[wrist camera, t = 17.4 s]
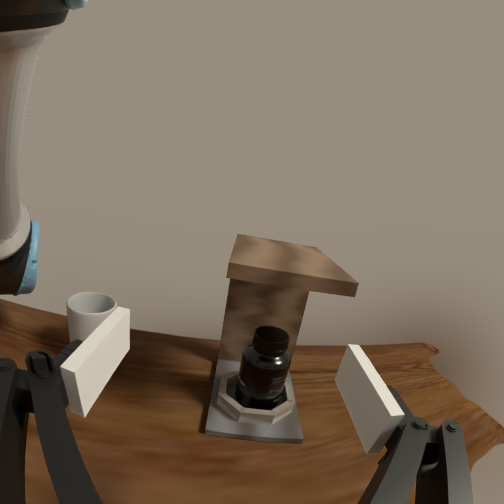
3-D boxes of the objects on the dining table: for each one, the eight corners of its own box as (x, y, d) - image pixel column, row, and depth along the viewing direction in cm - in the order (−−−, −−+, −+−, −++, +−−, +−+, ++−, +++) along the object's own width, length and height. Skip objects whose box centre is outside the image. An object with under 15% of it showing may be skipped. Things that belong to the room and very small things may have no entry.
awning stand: (204, 434, 31) (228, 262, 27) (218, 359, 50) (237, 233, 46) (301, 443, 32) (358, 283, 27) (286, 368, 51) (316, 247, 46)
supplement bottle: (224, 397, 38) (235, 329, 36) (252, 381, 44) (266, 317, 42) (261, 421, 34) (280, 351, 32) (286, 400, 40) (306, 335, 38)
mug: (114, 378, 38) (110, 317, 36) (66, 369, 35) (58, 308, 33) (125, 340, 49) (125, 288, 47) (84, 334, 47) (82, 281, 45)
